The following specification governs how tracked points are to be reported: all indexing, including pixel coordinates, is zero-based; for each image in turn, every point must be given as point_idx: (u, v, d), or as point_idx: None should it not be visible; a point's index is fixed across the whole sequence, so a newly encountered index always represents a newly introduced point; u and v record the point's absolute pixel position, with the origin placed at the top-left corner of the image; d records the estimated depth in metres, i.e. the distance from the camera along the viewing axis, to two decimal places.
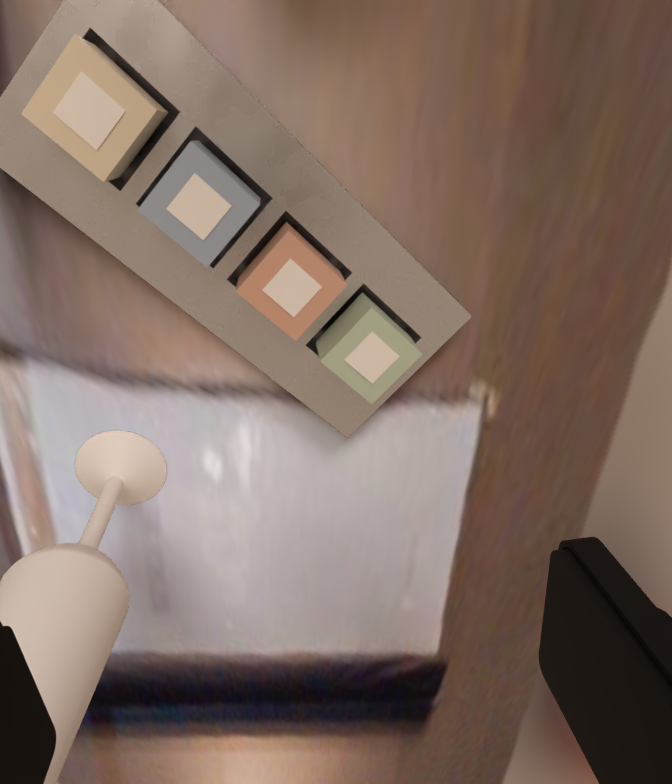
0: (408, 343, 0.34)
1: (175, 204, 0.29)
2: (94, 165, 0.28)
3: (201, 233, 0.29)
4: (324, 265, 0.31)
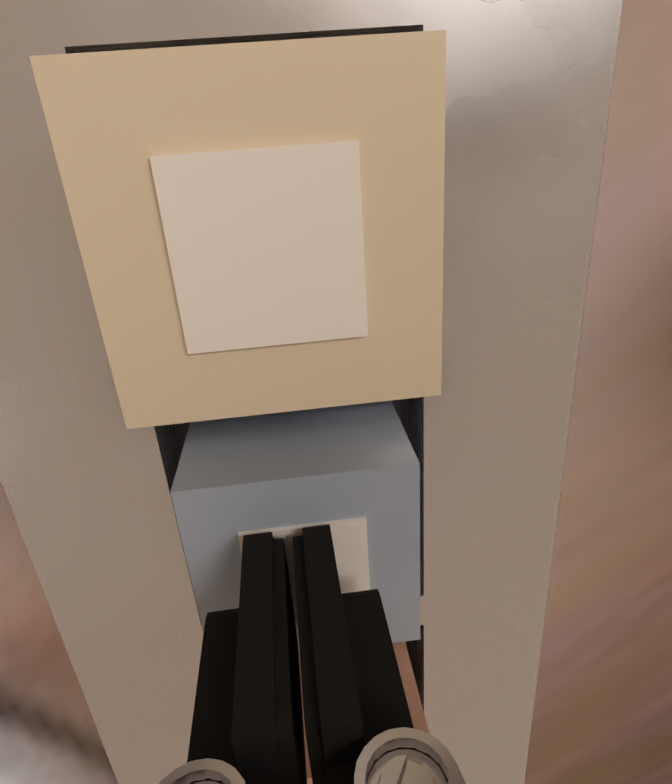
0: None
1: None
2: (141, 377, 0.07)
3: None
4: None
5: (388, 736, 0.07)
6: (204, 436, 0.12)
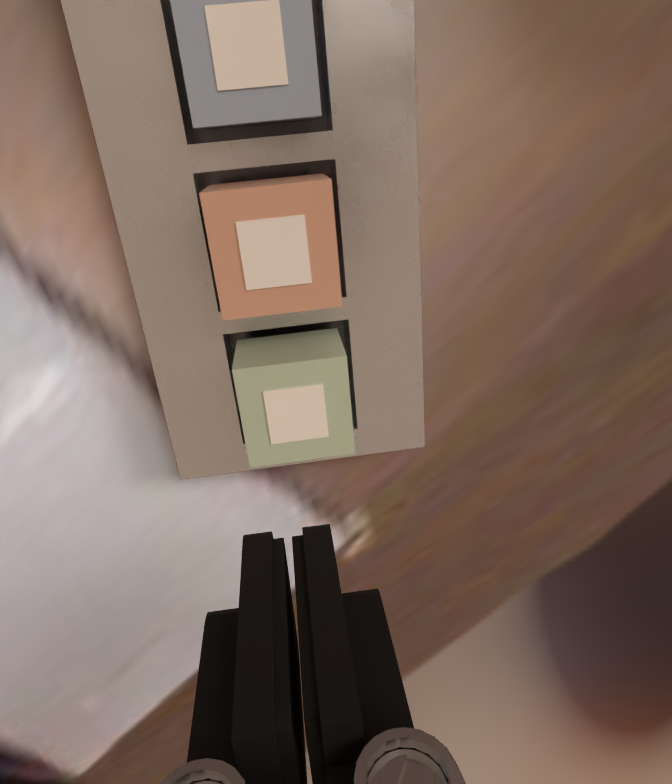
0: (350, 429, 0.23)
1: (222, 12, 0.18)
2: None
3: (223, 80, 0.19)
4: (336, 259, 0.20)
5: (388, 736, 0.07)
6: None
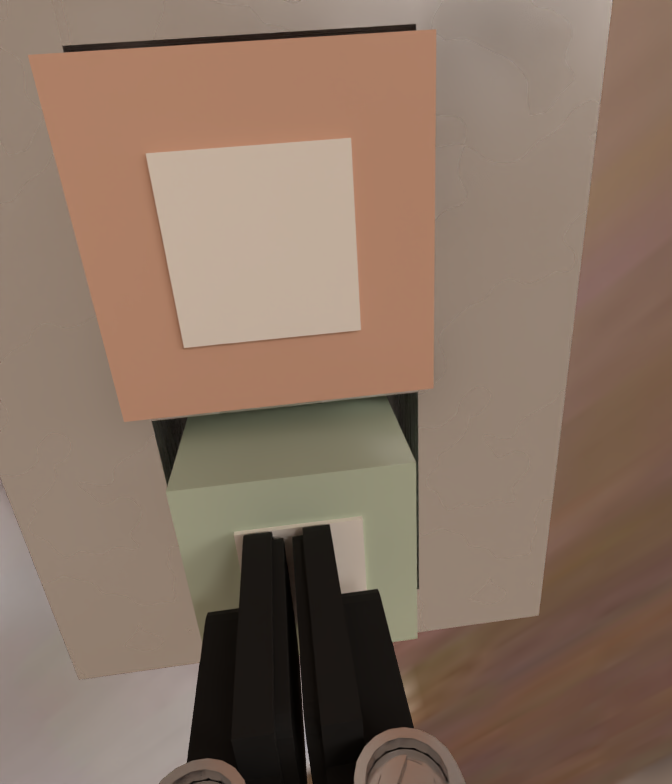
0: (412, 597, 0.11)
1: None
2: None
3: None
4: (429, 270, 0.07)
5: (388, 736, 0.07)
6: None
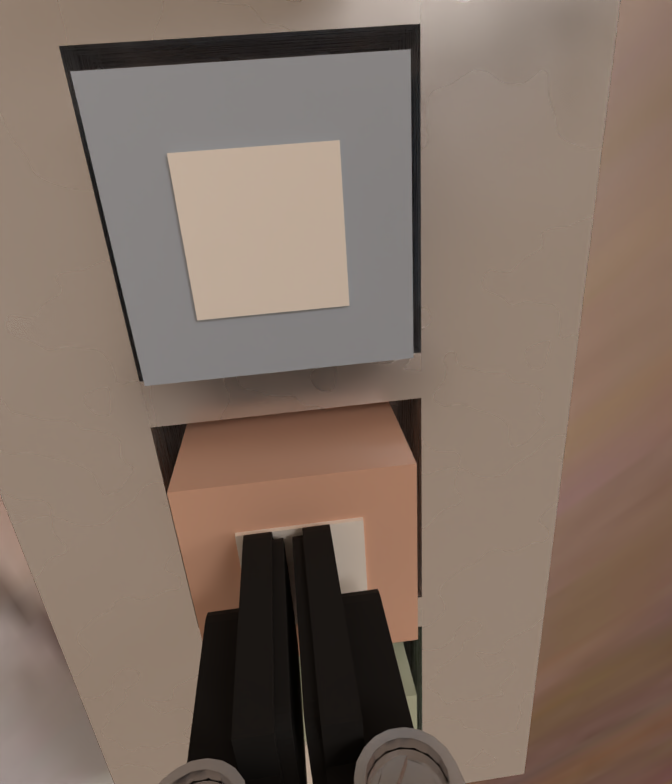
0: None
1: (208, 167, 0.08)
2: None
3: (209, 300, 0.08)
4: (414, 578, 0.11)
5: (388, 736, 0.07)
6: None
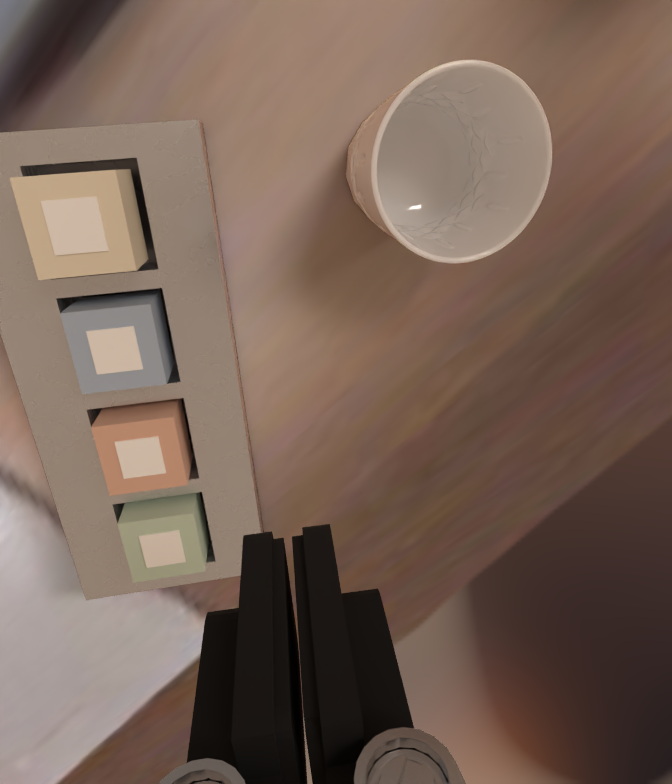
0: (200, 556, 0.35)
1: (97, 334, 0.29)
2: (41, 263, 0.26)
3: (100, 369, 0.29)
4: (181, 459, 0.32)
5: (388, 736, 0.07)
6: (78, 303, 0.30)
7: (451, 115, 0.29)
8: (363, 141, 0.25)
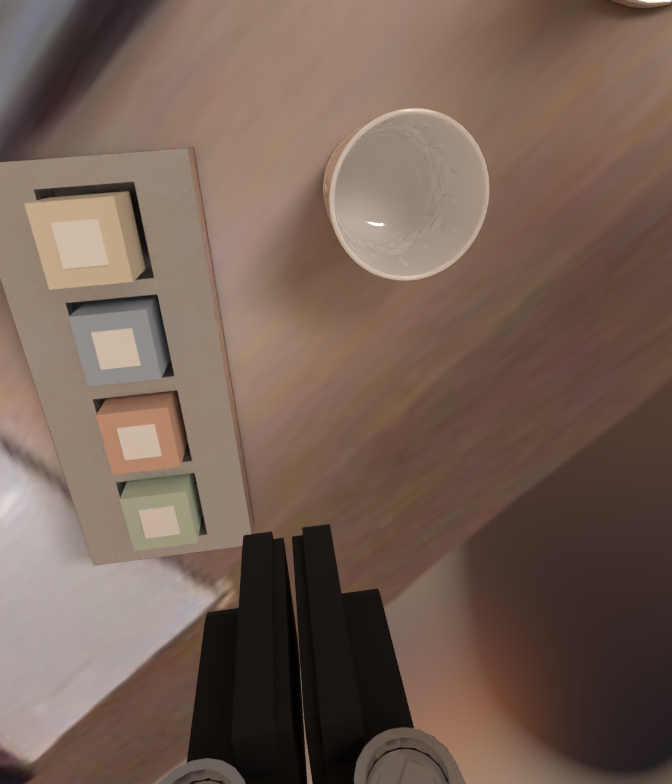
0: (193, 529, 0.39)
1: (100, 335, 0.33)
2: (52, 275, 0.30)
3: (103, 365, 0.34)
4: (174, 444, 0.37)
5: (388, 736, 0.07)
6: (85, 307, 0.34)
7: (413, 142, 0.32)
8: (328, 171, 0.29)
